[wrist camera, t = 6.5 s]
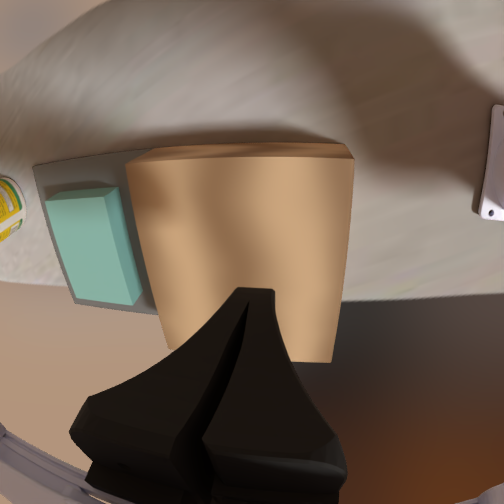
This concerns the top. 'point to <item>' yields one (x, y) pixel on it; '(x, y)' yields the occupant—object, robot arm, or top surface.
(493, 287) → the top surface
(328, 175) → the wooden block
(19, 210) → the supplement bottle
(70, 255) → the mint green block
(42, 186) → the mat
